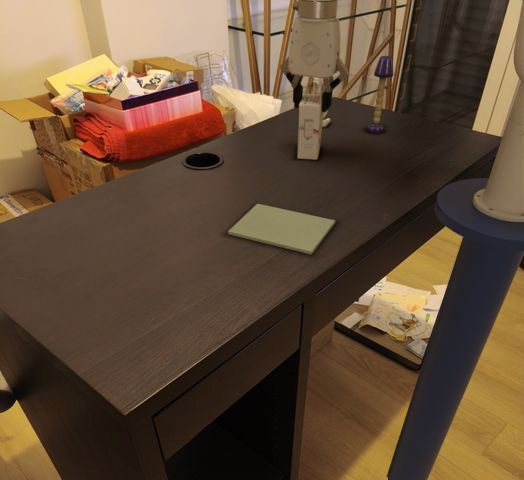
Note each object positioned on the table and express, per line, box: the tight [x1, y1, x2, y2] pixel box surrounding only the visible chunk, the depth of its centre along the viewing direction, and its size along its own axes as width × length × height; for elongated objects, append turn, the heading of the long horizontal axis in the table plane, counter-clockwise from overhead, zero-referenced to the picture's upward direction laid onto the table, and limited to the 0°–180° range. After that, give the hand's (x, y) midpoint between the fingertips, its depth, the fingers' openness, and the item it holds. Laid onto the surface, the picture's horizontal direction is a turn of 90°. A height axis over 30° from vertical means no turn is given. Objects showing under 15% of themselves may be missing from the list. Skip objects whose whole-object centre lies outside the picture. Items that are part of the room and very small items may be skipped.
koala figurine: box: [311, 77, 336, 128], centre depth 123 cm, size 8×7×12 cm
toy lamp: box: [366, 55, 394, 134], centre depth 119 cm, size 5×5×17 cm
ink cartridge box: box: [296, 80, 325, 161], centre depth 108 cm, size 9×5×15 cm, turn 170°
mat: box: [227, 203, 336, 255], centre depth 87 cm, size 16×12×1 cm
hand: (311, 107), depth 107 cm, fingers closed on ink cartridge box, 5 cm apart
